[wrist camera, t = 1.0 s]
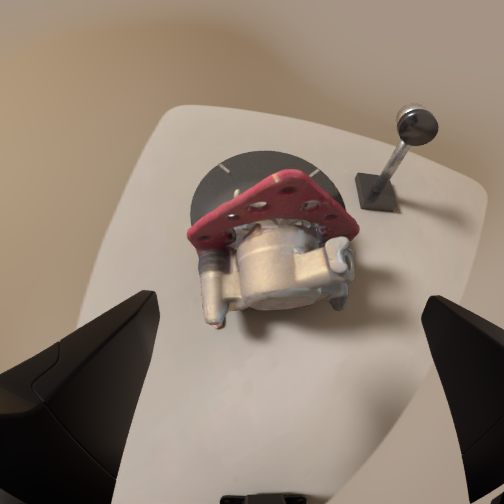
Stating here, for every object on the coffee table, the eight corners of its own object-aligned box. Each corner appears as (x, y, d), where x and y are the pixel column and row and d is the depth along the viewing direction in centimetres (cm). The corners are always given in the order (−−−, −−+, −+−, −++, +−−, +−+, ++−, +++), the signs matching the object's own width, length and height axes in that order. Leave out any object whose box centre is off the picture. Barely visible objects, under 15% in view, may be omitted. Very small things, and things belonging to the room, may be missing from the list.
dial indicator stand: (392, 211, 25) (452, 131, 15) (360, 208, 25) (413, 118, 15) (385, 182, 27) (433, 101, 16) (354, 178, 27) (396, 89, 16)
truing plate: (354, 286, 22) (354, 286, 22) (180, 281, 22) (180, 281, 22) (335, 157, 28) (335, 156, 27) (201, 150, 27) (201, 149, 27)
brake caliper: (329, 174, 23) (407, 173, 12) (326, 293, 26) (382, 368, 14) (196, 177, 23) (158, 174, 11) (205, 300, 25) (186, 387, 14)
